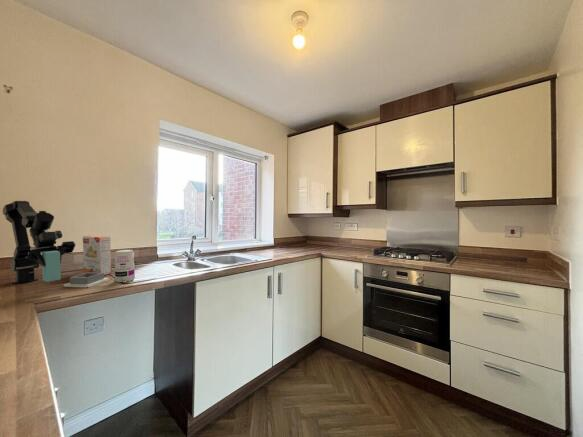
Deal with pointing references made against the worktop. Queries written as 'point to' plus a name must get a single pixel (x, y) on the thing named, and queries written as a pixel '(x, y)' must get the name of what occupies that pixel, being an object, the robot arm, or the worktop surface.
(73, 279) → the mounting plate
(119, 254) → the supplement can
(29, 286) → the worktop surface
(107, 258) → the cracker box
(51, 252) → the peg
